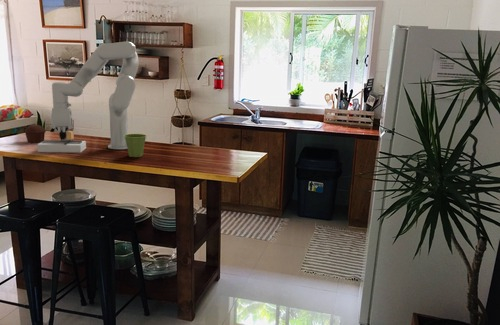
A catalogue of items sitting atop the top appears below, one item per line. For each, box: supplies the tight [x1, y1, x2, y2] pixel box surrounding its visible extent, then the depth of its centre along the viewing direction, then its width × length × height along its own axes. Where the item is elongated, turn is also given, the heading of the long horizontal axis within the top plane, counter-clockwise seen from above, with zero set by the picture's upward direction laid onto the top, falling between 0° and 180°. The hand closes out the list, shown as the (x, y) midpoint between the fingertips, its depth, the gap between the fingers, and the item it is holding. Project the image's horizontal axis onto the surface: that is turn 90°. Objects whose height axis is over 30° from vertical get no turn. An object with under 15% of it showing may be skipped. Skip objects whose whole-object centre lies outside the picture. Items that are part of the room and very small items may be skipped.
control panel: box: [36, 139, 87, 154], centre depth 233 cm, size 22×12×5 cm, turn 97°
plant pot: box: [124, 133, 148, 158], centre depth 226 cm, size 12×12×11 cm
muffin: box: [23, 124, 47, 144], centre depth 249 cm, size 12×11×10 cm
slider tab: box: [66, 130, 75, 142], centre depth 232 cm, size 2×4×6 cm, turn 7°
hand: (62, 139), depth 232 cm, fingers closed
